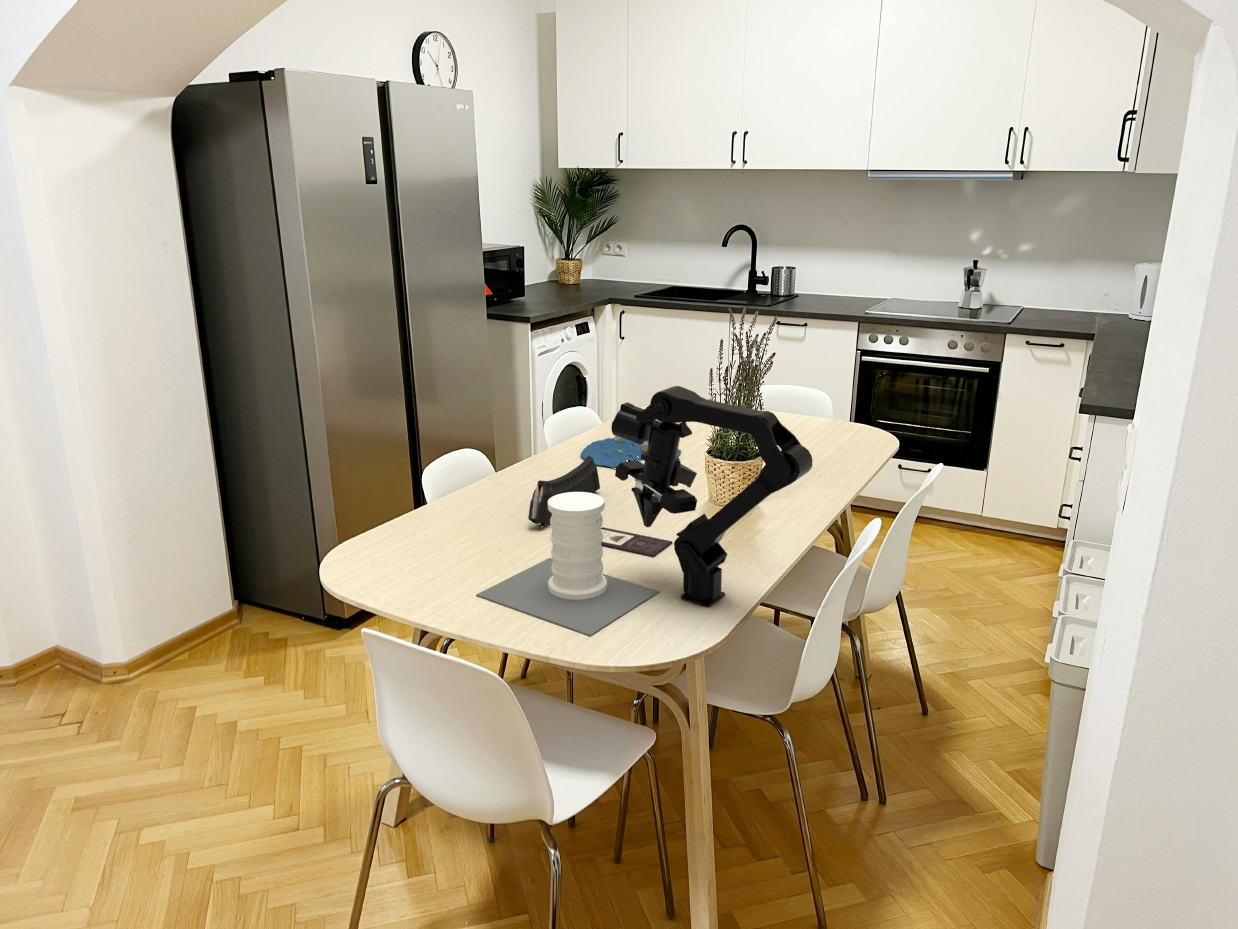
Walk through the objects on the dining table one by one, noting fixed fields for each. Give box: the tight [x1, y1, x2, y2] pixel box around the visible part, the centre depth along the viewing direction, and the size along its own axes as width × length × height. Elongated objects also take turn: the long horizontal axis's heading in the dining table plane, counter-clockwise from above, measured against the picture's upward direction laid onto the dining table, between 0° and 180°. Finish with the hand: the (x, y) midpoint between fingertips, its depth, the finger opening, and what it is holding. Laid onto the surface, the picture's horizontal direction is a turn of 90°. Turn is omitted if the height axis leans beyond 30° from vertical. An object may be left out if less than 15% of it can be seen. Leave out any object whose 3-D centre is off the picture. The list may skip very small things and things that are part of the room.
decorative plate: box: [580, 435, 682, 469], centre depth 263 cm, size 30×30×5 cm
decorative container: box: [548, 492, 607, 600], centre depth 173 cm, size 12×12×18 cm
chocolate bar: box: [601, 526, 673, 559], centre depth 198 cm, size 9×1×18 cm
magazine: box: [527, 456, 601, 528], centre depth 218 cm, size 17×3×30 cm
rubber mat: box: [475, 557, 660, 637], centre depth 173 cm, size 28×22×1 cm
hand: (647, 526), depth 174 cm, fingers closed
